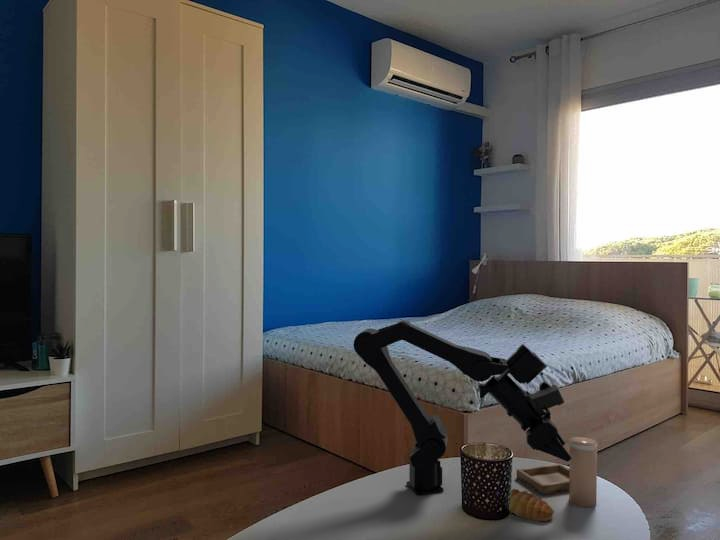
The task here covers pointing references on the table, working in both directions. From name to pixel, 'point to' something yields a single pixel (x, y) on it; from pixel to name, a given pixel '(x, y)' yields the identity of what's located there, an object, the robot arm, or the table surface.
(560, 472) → the tray
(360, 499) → the table surface
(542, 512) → the pastry
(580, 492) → the tumbler
